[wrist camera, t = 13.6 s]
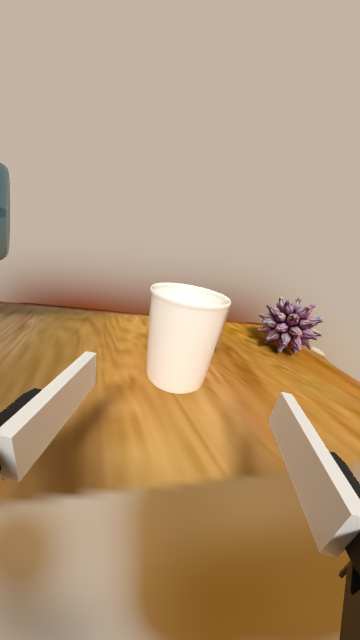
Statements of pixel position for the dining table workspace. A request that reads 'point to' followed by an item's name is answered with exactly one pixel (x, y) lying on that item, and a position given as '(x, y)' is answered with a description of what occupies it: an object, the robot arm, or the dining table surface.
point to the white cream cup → (182, 335)
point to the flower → (290, 325)
